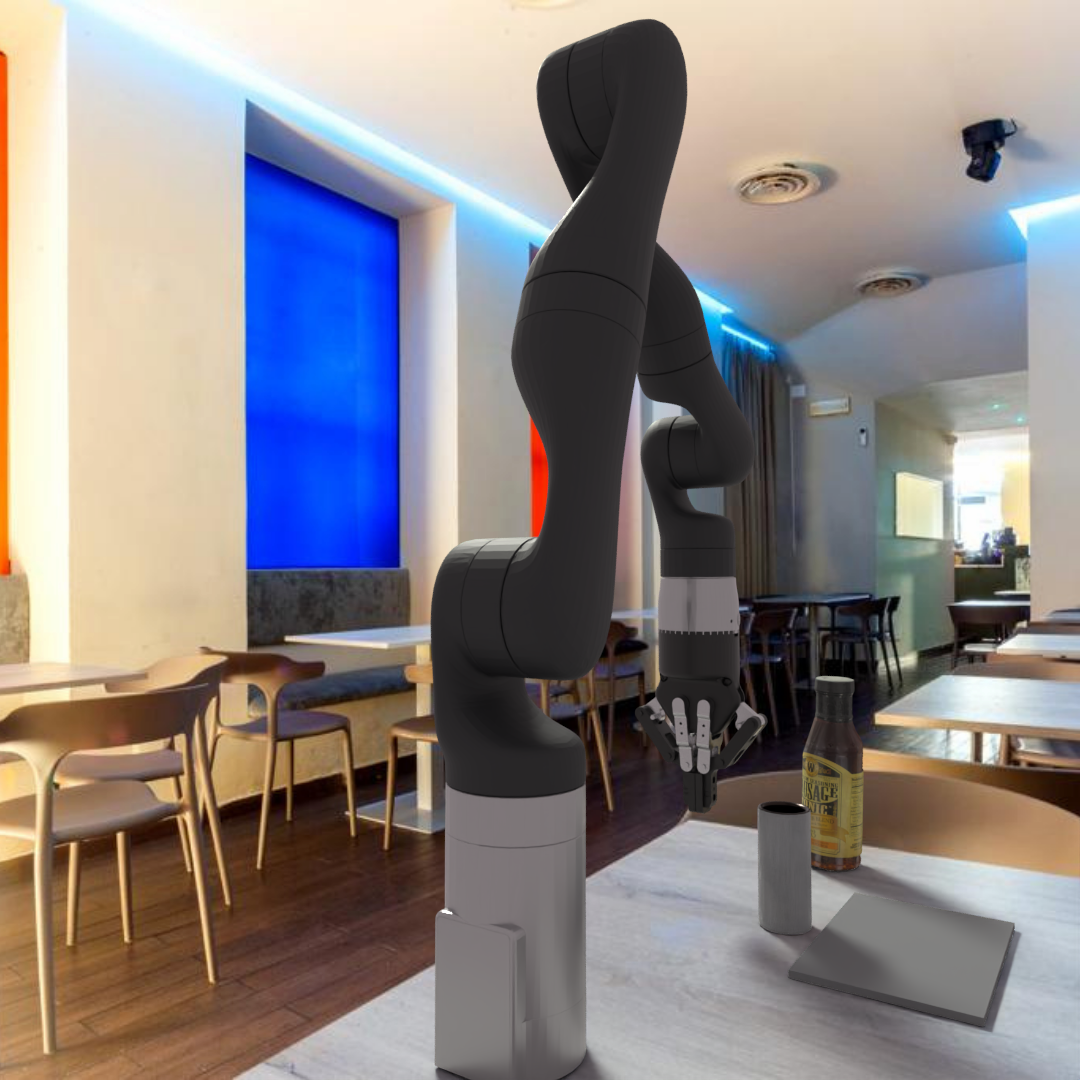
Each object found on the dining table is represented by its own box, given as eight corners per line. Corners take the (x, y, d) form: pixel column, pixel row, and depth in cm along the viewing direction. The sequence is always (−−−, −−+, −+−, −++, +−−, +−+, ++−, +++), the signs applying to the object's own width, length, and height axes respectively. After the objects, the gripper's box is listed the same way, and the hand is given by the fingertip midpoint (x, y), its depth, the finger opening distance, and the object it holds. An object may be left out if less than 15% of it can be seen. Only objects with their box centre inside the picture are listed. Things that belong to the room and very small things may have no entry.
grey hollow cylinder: (806, 916, 80) (804, 801, 81) (816, 936, 76) (815, 814, 76) (755, 914, 81) (754, 800, 81) (762, 934, 76) (761, 813, 77)
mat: (984, 1027, 61) (983, 1018, 61) (788, 977, 68) (788, 969, 68) (1014, 929, 77) (1014, 922, 77) (854, 898, 85) (854, 892, 85)
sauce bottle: (788, 859, 96) (787, 675, 97) (833, 852, 99) (831, 673, 100) (832, 878, 90) (830, 682, 91) (878, 870, 93) (875, 679, 94)
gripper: (617, 625, 84) (618, 810, 84) (752, 630, 77) (754, 832, 76) (652, 621, 91) (654, 792, 90) (780, 625, 83) (782, 812, 83)
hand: (700, 810), depth 83 cm, fingers closed
